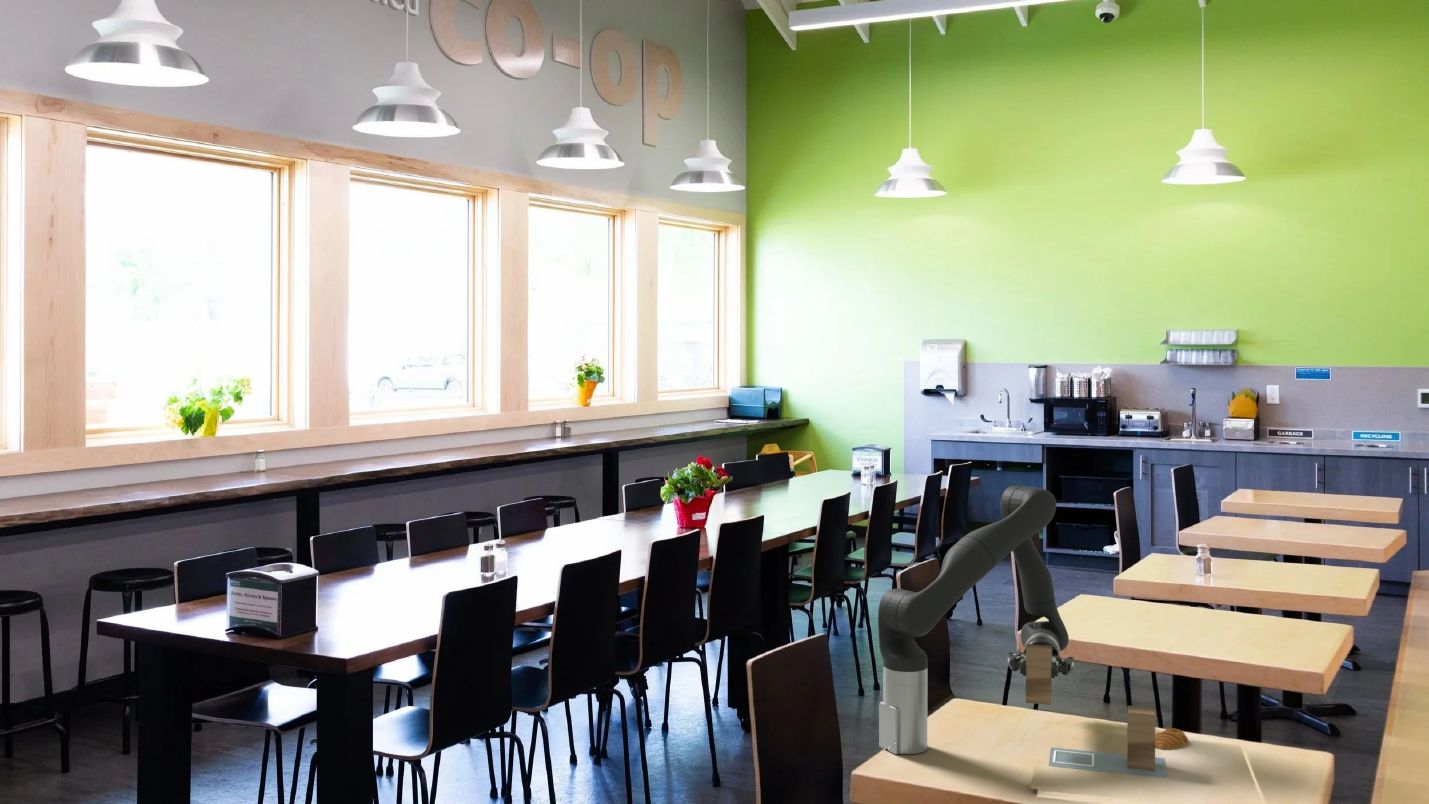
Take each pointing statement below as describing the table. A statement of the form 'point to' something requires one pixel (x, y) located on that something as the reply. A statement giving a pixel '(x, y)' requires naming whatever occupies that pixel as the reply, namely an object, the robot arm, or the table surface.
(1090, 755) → the board
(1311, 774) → the table surface
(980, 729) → the table surface
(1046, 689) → the pillar
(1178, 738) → the pastry
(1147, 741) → the built pillar
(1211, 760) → the table surface
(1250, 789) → the table surface
